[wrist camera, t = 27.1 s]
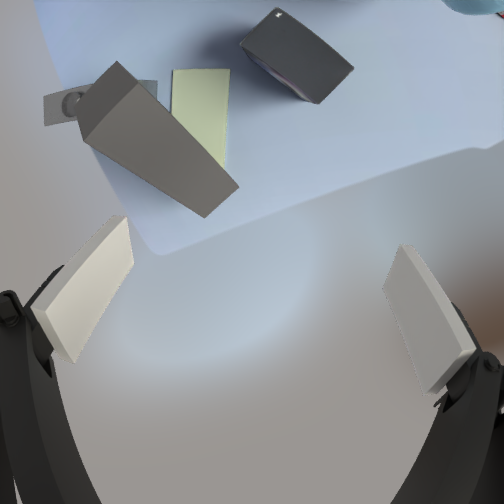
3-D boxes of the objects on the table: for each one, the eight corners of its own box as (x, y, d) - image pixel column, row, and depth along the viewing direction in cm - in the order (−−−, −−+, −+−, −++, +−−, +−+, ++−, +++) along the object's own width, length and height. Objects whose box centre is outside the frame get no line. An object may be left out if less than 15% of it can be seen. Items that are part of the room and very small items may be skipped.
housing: (95, 89, 32) (39, 97, 21) (157, 80, 32) (109, 79, 21) (95, 112, 35) (40, 127, 23) (156, 106, 34) (109, 116, 23)
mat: (174, 70, 31) (173, 69, 31) (230, 69, 31) (230, 68, 31) (172, 185, 41) (171, 186, 41) (223, 188, 41) (222, 189, 41)
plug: (74, 105, 20) (83, 141, 17) (116, 60, 19) (138, 83, 16) (183, 185, 40) (209, 221, 37) (213, 157, 39) (243, 191, 36)
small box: (244, 57, 30) (235, 44, 22) (275, 26, 28) (276, 3, 19) (305, 104, 34) (317, 107, 25) (335, 73, 31) (357, 66, 22)
